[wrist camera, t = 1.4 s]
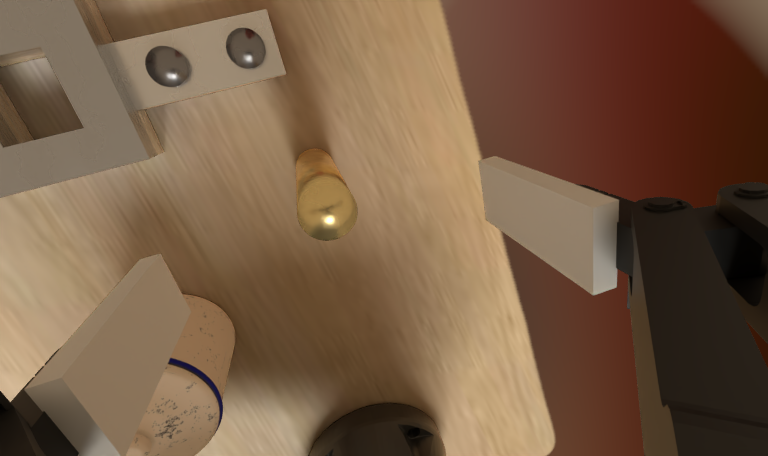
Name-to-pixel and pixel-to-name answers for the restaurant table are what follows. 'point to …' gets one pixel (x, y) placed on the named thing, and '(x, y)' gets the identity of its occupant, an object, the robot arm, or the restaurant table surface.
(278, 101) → the restaurant table surface
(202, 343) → the teacup with lid
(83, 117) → the studded slotted bracket
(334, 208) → the brass pin
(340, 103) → the restaurant table surface
